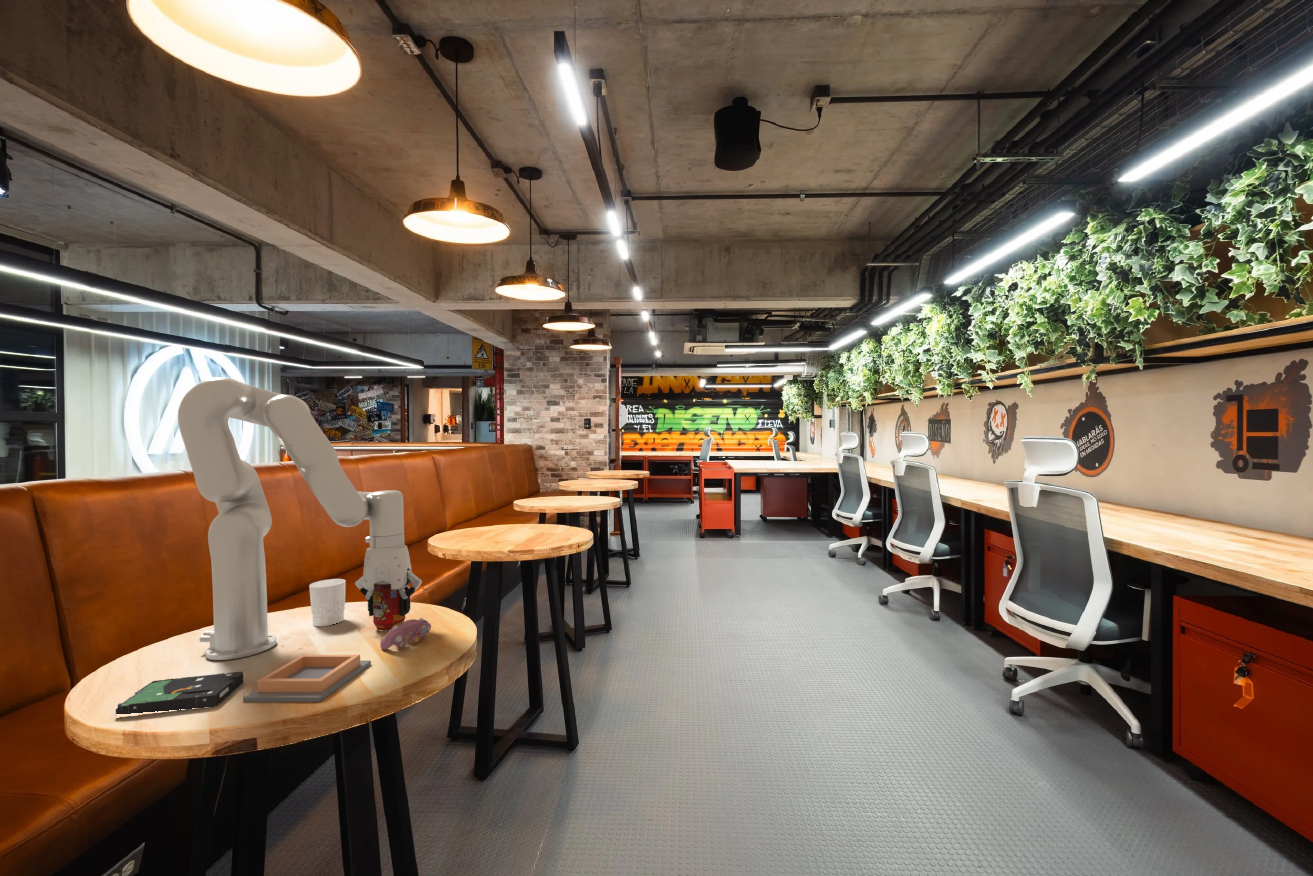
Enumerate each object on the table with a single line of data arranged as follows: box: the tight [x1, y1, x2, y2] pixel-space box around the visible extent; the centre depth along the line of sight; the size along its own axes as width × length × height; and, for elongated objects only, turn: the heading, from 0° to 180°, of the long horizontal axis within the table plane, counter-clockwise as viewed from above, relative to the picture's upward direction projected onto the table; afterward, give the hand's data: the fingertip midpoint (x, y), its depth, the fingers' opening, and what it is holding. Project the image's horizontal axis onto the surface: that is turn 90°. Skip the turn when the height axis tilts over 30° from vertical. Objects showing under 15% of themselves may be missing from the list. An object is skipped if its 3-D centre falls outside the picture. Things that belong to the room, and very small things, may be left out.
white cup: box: [308, 578, 346, 628], centre depth 142 cm, size 8×8×10 cm
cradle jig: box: [242, 654, 372, 703], centre depth 107 cm, size 14×16×3 cm
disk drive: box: [115, 671, 244, 715], centre depth 101 cm, size 10×3×15 cm
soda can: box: [372, 581, 406, 632], centre depth 137 cm, size 7×7×12 cm
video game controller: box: [379, 617, 432, 651], centre depth 125 cm, size 10×5×7 cm, turn 143°
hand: (389, 613), depth 137 cm, fingers closed on soda can, 7 cm apart
